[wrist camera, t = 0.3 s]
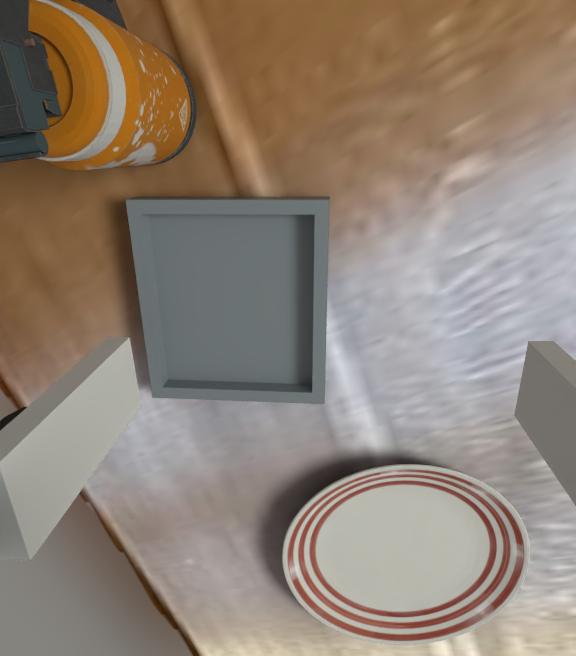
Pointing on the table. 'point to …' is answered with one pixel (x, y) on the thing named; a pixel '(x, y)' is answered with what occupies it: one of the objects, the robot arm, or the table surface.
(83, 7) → the canister
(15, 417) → the robot arm
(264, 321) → the tray
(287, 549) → the dinner plate
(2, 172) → the table surface
